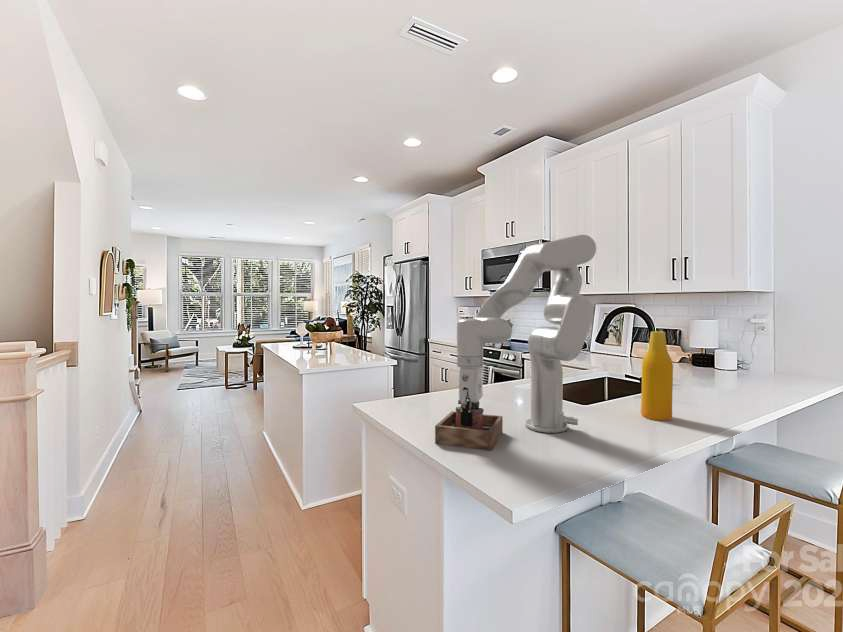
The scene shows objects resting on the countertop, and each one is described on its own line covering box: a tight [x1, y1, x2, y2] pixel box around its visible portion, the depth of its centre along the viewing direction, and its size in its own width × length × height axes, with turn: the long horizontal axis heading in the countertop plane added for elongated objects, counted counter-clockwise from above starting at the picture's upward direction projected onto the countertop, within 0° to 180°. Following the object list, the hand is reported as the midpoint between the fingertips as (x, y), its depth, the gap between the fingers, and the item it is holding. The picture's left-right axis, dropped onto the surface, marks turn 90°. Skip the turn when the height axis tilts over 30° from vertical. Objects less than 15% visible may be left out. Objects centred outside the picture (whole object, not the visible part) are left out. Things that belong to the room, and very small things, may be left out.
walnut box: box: [434, 410, 504, 452], centre depth 121 cm, size 16×16×5 cm
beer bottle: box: [640, 331, 674, 422], centre depth 140 cm, size 9×9×29 cm
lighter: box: [455, 399, 484, 430], centre depth 121 cm, size 8×3×10 cm, turn 78°
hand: (470, 421), depth 121 cm, fingers open, 7 cm apart
